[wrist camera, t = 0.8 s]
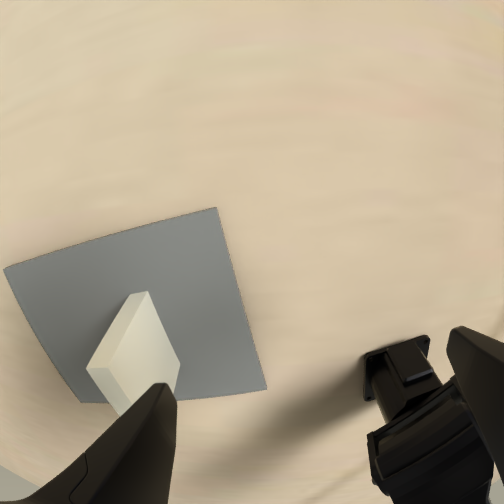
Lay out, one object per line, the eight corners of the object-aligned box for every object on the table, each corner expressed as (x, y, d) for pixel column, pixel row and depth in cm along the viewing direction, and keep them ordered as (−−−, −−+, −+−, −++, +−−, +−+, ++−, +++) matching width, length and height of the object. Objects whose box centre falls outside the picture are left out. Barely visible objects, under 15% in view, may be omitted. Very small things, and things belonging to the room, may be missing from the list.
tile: (180, 364, 23) (162, 444, 16) (163, 365, 23) (141, 443, 16) (147, 290, 21) (107, 367, 13) (129, 294, 21) (85, 368, 13)
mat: (266, 386, 25) (267, 389, 24) (81, 399, 26) (80, 402, 26) (216, 206, 19) (215, 208, 19) (5, 267, 20) (3, 269, 20)
